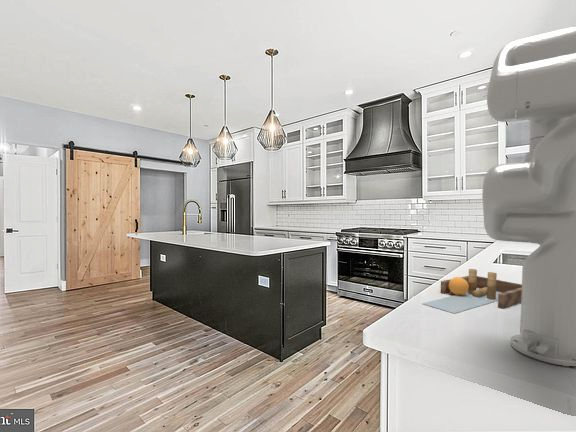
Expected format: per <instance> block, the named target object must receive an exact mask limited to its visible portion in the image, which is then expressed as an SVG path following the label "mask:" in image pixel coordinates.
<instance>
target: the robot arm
mask: <svg viewBox="0 0 576 432" xmlns="http://www.w3.org/2000/svg"><path fill="white" fill-rule="evenodd" d="M486 98H487V99H486V105H487V111H488V113H489V115H490V116H491V118H492V119H493V120H494V121H497V122H499V123H500V122H502V123H510V122H518V121H519V122H520V121H530V127H529V151H528V152H526V153H525V157H524V159H523V160H524V161H523V162H509V163H508V162H507V163H506V162H505V163H501V164H496V165H495V166H493V167H492V166H491V168H490V169H488V171H487V172H486V174H485V176H484V177H483V178H484V179H483V184H482V195H481V196H482V210H483V224H484V228H485V229H484V230H485V232H486V234H487V236H488V237H489V238H491V239H493V240H496V241H500V242H501V241H502V242H516V243H531V244H535V245H536V244H537V245H539V246H538V247H537V248H536V249H535V250H534V251H532V252H531V253H530V254H529V255H528V256H527V257H526V258H525V259H524V261H523V264H522V271H521V272H522V273H521V284H522V295H521V303H520V323H519V324H520V327H519V328H520V329H519V334H515V335H513V336H511V337H510V346H511V347H512V348H513V349H514V350H516V351H517V352H519V353H521V354H523V355H525V356H527V357H530V358H532V359H535V360H537V361H541V362H544V363H548V364H552V365H556V366H561V365H562V366H563V367H569V366H576V26H571V27H567V28H566V27H565V28H561V29H557V30H552V31H548V32H543V33H540V34H537V35H531V36H528V37H524V38H520V39H519V38H518V39H517V40H514V41H510V42H509V43H507V44H505V46H503V47H502V48H501V49H500V50H499V52H498V54H497V55H496V57H495V59H494V62H493V65H492V69H491V73H490V77H489V83H488V87H487V94H486ZM562 366H561V367H562Z"/></svg>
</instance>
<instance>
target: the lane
mask: <svg viewBox="0 0 576 432" xmlns="http://www.w3.org/2000/svg"><path fill="white" fill-rule="evenodd" d="M500 293H502V292H497V291H496V299H494V300H493V299H488V298H487V295H484V296H481V297H474V296H473V295H471V294H468V291H467V293H466V294H464V295H455V294H453V295H450V296H447V297H443V298H439V299H434V300H431V301H426V302H423V303H421V304H422V305H424V304H425V305H424V306H427V305H428V306H427V307H430V306H431V307H430V308H433V309H437V310H440V309H441V310H440V311H444V312H447V313H450V314H459V313H461V312H465V311H468V310H471V309H474V308H478V307H481V306H485V305H488V304H492V303H495V302H498V294H500Z"/></svg>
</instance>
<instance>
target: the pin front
mask: <svg viewBox="0 0 576 432" xmlns="http://www.w3.org/2000/svg"><path fill="white" fill-rule="evenodd" d="M472 295H473V296H474V297H481V296H484V295H487V287H485V288H477V289H476V290H475V291H473V292H472Z"/></svg>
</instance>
